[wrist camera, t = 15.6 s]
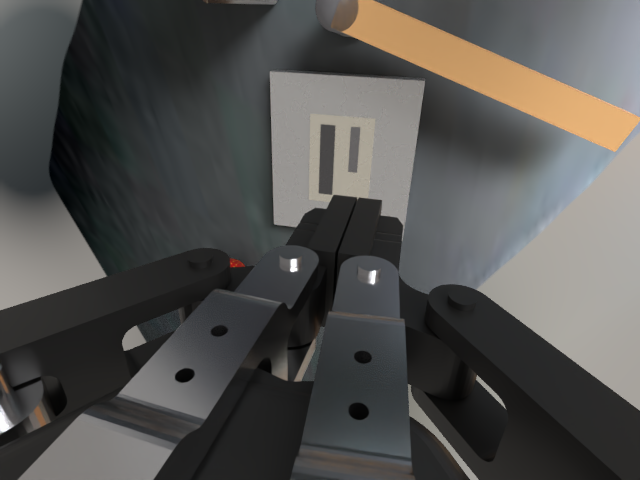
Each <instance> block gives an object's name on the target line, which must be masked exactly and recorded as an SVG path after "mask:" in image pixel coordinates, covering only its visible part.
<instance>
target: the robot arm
mask: <svg viewBox="0 0 640 480" xmlns="http://www.w3.org/2000/svg"><path fill="white" fill-rule="evenodd" d="M381 210H382V200H378V199H369V198H360V197H359V198H358V200H357V197H351V196H342V195H333V197H332V199H331V201H330V203H329V205H328V207H327V209H323V208H314V209H312V210H310V211H309V212H307V213H305V214H304V216H303V217H302V219H301V221H300V223H299V224H298V226H297V227H296V230H295V231H294V232H293V234H292V236H291V237H290V239H289V240H288V242H287V244H286V245H285V246H280V247H276V248H274V249H271V250H270V251H268V252H267V253H266V254H265V255H264V256H263V257H262V258H261V260H260V261H259V262H258V263H257V264H256V266H247V267H231V266H230V258H229V256H228V255H227V254H226V253H225V252H223V251H221V250H217V249H212V248H200V249H194V250H190V251H187V252H183V253H180V254H177V255H174V256H171V257H168V258H164V259H161V260H158V261H155V262H152V263H149V264H146V265H142V266H139V267H136V268H133V269H130V270H127V271H123V272H120V273H117V274H114V275H111V276H108V277H105V278H102V279H99V280H95V281H92V282H89V283H86V284H82V285H79V286H76V287H73V288H70V289H67V290H63V291H60V292H57V293H54V294H51V295H48V296H45V297H41V298H38V299H35V300H32V301H29V302H26V303H23V304H19V305H16V306H13V307H10V308H7V309H4V310H0V480H470V479H469V478H468V477H467V475H466V474H465V473H464V471H463V470H462V469H461V467H460V466H459V464H458V463H457V462H456V460H455V459H454V458H453V456H452V455H451V454H450V452H449V451H448V450H447V449H446V447H445V446H444V445H443V444H442V443H441V442H440V441H439V440H438V439H437V437H436V436H435V435H434V434H432V433H431V432H430V431H429V430H428V429H426V428H425V427H424V426H423V425H422V424H420V423H419V422H417V421H416V420H415V419H413V418H412V417H410V416H409V401H408V384H410V385H411V392H412V396H413V398H414V399H415V401H416V402H417V404H418V405H419V406H420V407H421V408H422V410H423V411H424V412H425V414H426V415H427V416H428V417H429V419H430V420H431V421H432V422H433V423H434V425H435V426H436V427H437V428H438V429H439V431H440V432H441V433H442V435H443V436H444V437H445V438H446V440H447V441H448V442H449V443H450V445H451V446H452V447H453V448H454V449H455V451H456V452H457V453H458V454H459V456H460V457H461V458H462V459H463V461H464V462H465V463H466V464H467V466H468V467H469V468H470V469H471V470H472V472H473V473H474V474H475V475H476V476H477V478H478V479H479V480H640V411H639V410H638V409H637V408H635V407H634V406H633V405H631V404H630V403H629V402H627V401H626V400H625V399H623V398H622V397H620V396H619V395H618V394H617V393H615V392H614V391H613V390H611V389H610V388H609V387H607V386H606V385H604V384H603V383H602V382H601V381H599V380H598V379H597V378H595V377H594V376H592V375H591V374H590V373H588V372H587V371H586V370H584V369H583V368H582V367H580V366H579V365H578V364H576V363H575V362H574V361H572V360H571V359H570V358H568V357H567V356H566V355H564V354H563V353H562V352H560V351H559V350H558V349H556V348H555V347H554V346H552V345H551V344H550V343H548V342H547V341H546V340H544V339H543V338H542V337H540V336H539V335H538V334H536V333H535V332H533V331H532V330H531V329H530V328H528V327H527V326H526V325H524V324H523V323H522V322H520V321H519V320H518V319H516V318H515V317H514V316H512V315H511V314H509V313H508V312H507V311H506V310H504V309H503V308H501V307H500V306H499V305H498V304H496V303H495V302H494V301H492V300H491V299H490V298H488V297H487V296H486V295H484V294H483V293H481V292H479V291H477V290H475V289H472V288H470V287H466V286H462V285H453V284H449V285H441V286H438V287H436V288H434V289H433V290H432V291H431V292H430V293H429V295H428V294H425V293H422V292H419V291H417V290H415V289H413V288H411V287H410V286H408V285H407V284H406V283H404V282H403V280H402V279H401V278H400V276H399V271H398V270H399V261H400V252H401V243H402V234H403V225H402V223H401V222H400V220H399V219H398V218H397V217H390V216H382V215H381ZM176 309H179V315H180V321H181V326H180V327H179V328H178V329H177V330H175V331H173V332H171V333H168V334H166V335H163V336H161V337H159V338H156V339H154V340H152V341H149V342H147V343H145V344H142V345H140V346H137V347H135V348H133V349H130V350H127V351H124V350H123V346H122V339H123V337H124V335H125V333H126V332H127V331H128V330H129V329H131V328H132V327H134V326H136V325H138V324H141V323H143V322H146V321H148V320H151V319H153V318H156V317H159V316H161V315H164V314H166V313H169V312H171V311H174V310H176ZM321 326H323V327H325V330H324V335H323V340H322V344H321V349H320V354H319V359H318V364H317V369H316V373H315V378H314V381H301V380H302V378H303V375H304V373H305V371H306V369H307V366H308V364H309V362H310V360H311V357H312V355H313V353H314V351H315V348H316V336H317V335H318V333H319V330H320V327H321ZM477 375H478V376H479V377H480V378H481V379H482V380H483V381H484V382H485V383H486V384H487V385H488V386H489V387H491V388H492V390H493V391H494V392H495V393H497V395H498V396H499V397H500V398H501V399H502V401H503V403H504V405H505V407H506V409H505V408H504V407H503V406H502V405H501V404H500V403H499V402H498V401H497V400H496V399H495V398H494V397H493V396H492V395H491V394H490V393H489V392H488V391H487V390H486V389H485V388H484V387H483V386H482V385H481V384H480V383H479V382H478V381H477V380H476V377H477Z"/></svg>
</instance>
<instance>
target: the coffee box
mask: <svg viewBox="0 0 640 480" xmlns="http://www.w3.org/2000/svg"><path fill="white" fill-rule="evenodd" d="M202 1H203V2H205V3H226V4H269V5H275V4H276V2H277V1H278V0H202Z"/></svg>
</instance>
